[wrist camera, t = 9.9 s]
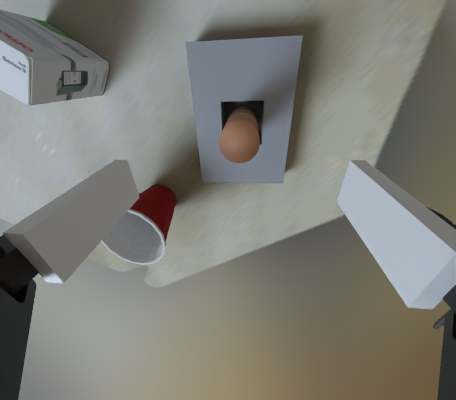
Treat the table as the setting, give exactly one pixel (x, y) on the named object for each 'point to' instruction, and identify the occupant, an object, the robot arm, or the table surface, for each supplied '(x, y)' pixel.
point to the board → (244, 91)
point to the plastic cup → (143, 227)
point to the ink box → (46, 63)
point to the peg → (240, 136)
